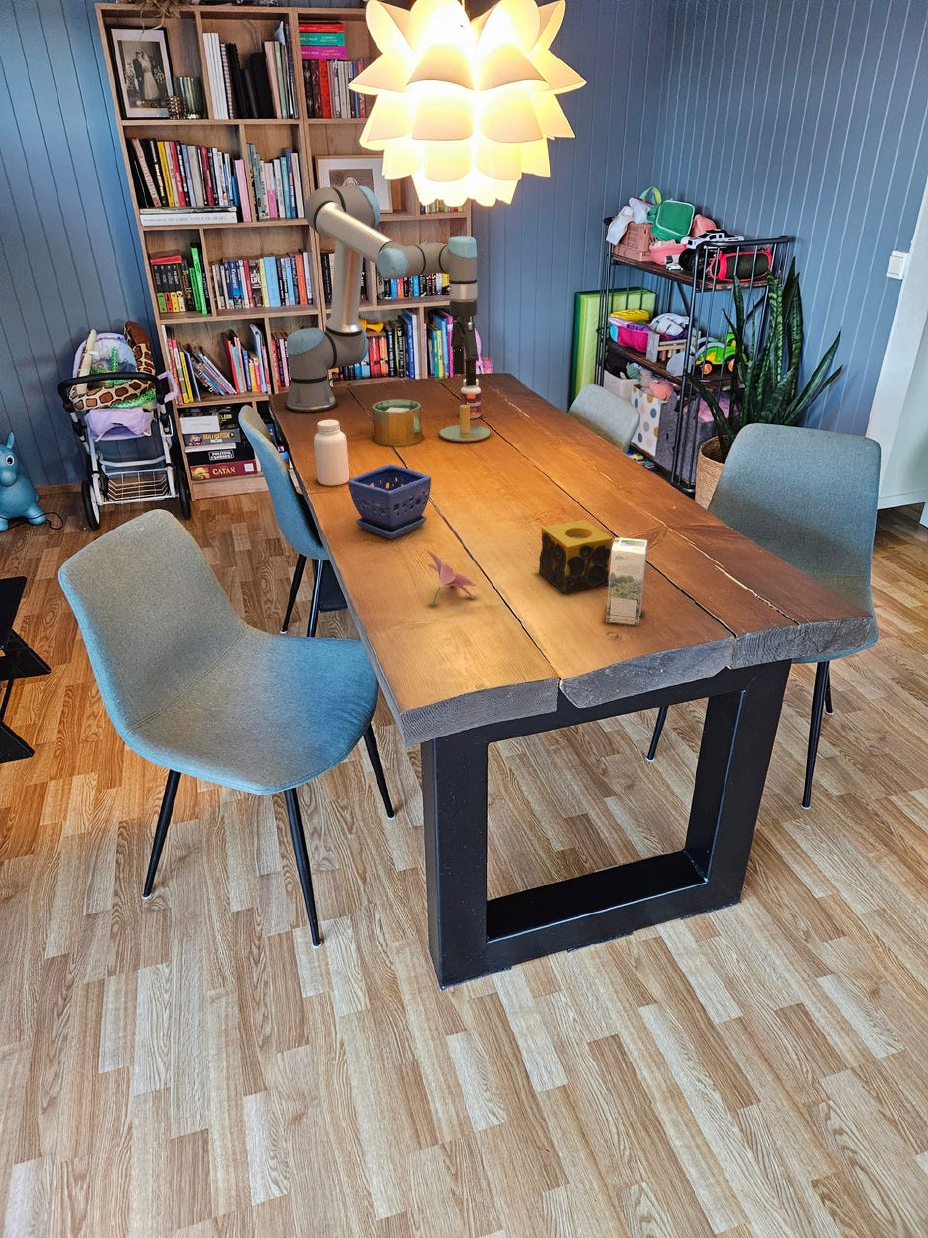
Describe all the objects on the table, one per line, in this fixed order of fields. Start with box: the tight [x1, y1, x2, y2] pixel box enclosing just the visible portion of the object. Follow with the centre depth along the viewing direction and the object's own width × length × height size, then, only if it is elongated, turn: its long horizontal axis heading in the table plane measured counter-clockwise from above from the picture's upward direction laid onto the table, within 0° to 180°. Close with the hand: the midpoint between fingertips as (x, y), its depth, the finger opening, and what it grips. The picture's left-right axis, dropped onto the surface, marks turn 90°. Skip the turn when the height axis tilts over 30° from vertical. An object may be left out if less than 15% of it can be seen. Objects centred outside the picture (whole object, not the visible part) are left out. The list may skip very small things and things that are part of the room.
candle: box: [538, 519, 613, 594], centre depth 168 cm, size 10×10×10 cm
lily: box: [424, 548, 478, 607], centre depth 162 cm, size 12×12×10 cm
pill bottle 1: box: [313, 419, 350, 487], centre depth 218 cm, size 8×8×15 cm
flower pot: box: [347, 464, 432, 540], centre depth 191 cm, size 13×13×12 cm
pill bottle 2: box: [460, 378, 482, 419], centre depth 268 cm, size 6×6×11 cm
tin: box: [371, 399, 423, 447], centre depth 249 cm, size 14×14×10 cm
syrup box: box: [605, 536, 648, 627], centre depth 153 cm, size 6×6×14 cm
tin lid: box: [439, 404, 491, 443], centre depth 251 cm, size 15×15×9 cm
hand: (464, 379), depth 245 cm, fingers open, 13 cm apart
